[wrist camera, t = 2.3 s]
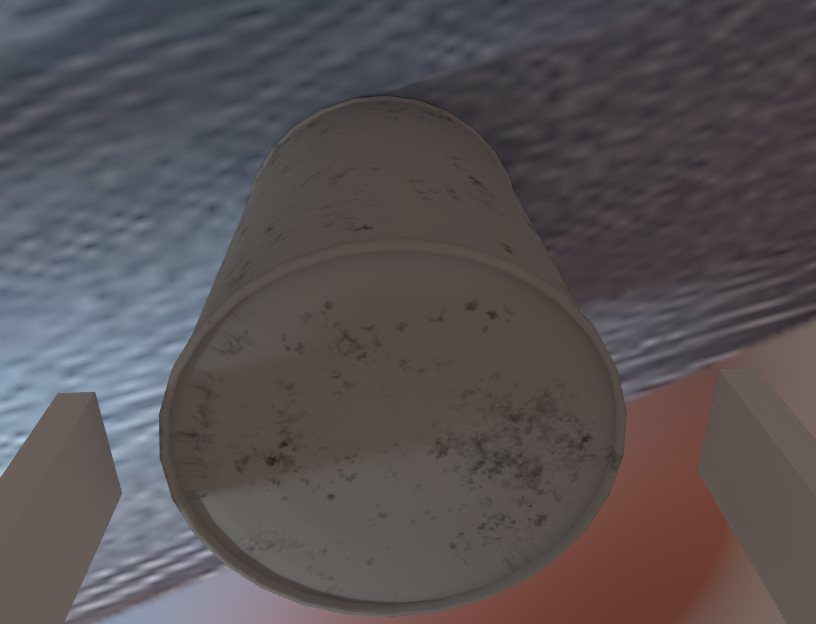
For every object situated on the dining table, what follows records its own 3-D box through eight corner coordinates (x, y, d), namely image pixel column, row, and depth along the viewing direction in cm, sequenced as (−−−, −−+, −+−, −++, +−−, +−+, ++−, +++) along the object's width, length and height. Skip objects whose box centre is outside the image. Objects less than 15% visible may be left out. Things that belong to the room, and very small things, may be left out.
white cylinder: (399, 391, 29) (419, 670, 18) (192, 251, 26) (66, 489, 15) (573, 215, 26) (723, 426, 15) (362, 30, 23) (359, 129, 12)
